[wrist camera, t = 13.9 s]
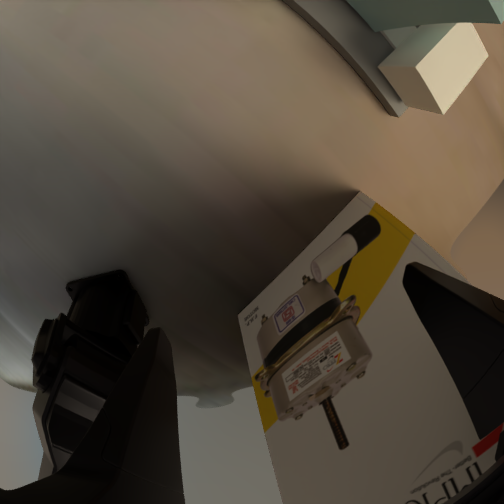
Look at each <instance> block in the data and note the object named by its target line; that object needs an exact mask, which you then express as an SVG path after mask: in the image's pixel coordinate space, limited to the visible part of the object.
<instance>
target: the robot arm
mask: <svg viewBox="0 0 504 504" xmlns="http://www.w3.org/2000/svg"><path fill="white" fill-rule="evenodd" d="M118 275H121V276H122V277H119V276H118ZM402 284H403V287H404V289H405V291H406V293H407V295H408V297H409V299H410V301H411V303H412V305H413V307H414V309H415V311H416V313H417V315H418V317H419V319H420V321H421V323H422V324H423V326H424V328H425V329H426V331H427V333H428V335H429V336H430V338H431V340H432V342H433V343H434V345H435V347H436V349H437V350H438V352H439V354H440V356H441V358H442V360H443V362H444V363H445V365H446V367H447V369H448V371H449V373H450V375H451V377H452V379H453V381H454V383H455V385H456V387H457V389H458V391H459V393H460V396H461V398H462V399H463V402H464V405H465V407H466V409H467V411H468V414H469V416H470V418H471V421H472V423H473V425H474V428H475V430H476V433H477V435H478V438H479V439H480V440H481V439H483V438H484V437H485V436H487V435H488V434H489V433H491V432H492V431H493V430H495V429H496V428H497V427H499V426H500V425H501V424H502V423H504V300H502V299H500V298H498V297H496V296H493V295H491V294H489V293H487V292H485V291H483V290H481V289H478V288H476V287H474V286H472V285H470V284H467V283H465V282H463V281H461V280H458V279H456V278H454V277H451V276H449V275H447V274H445V273H442V272H440V271H438V270H435V269H433V268H430V267H428V266H426V265H423V264H421V263H418V262H411V263H408V264H407V265H406V266H405V271H404V275H403V280H402ZM70 287H71V288H72V289H71V288H70ZM66 291H67V292H68V294H69V295H70V297H71V299H72V300H73V302H72V305H71V307H70V309H69V312H68V314H67V316H66V315H64V314H63V313H61V314H60V315H59V316H58V318H57V319H55V320H54V319H53V320H49V319H45V320H44V322H43V323H42V326H41V328H40V330H39V333H38V335H37V338H36V341H35V345H34V349H33V354H32V359H31V360H32V363H33V386H34V387H36V388H38V390H37V393H36V397H35V400H34V403H33V414H34V418H35V422H36V426H37V430H38V433H39V437H40V440H41V443H42V447H43V450H44V453H43V458H42V463H41V468H40V473H39V478H38V481H35V482H33V483H30V484H28V485H25V486H23V487H20V488H17V489H14V490H3V489H1V488H0V504H185V499H184V494H183V493H184V491H183V482H182V473H181V462H180V450H179V434H178V418H177V416H178V415H177V389H176V380H175V372H174V365H173V357H172V349H171V344H170V342H169V340H168V338H167V336H166V335H165V333H164V331H163V329H162V328H160V327H158V328H152V329H150V330H149V331H148V332H147V334H146V335H145V337H144V338H143V335H144V327H145V326H147V325H148V324H149V318H148V316H147V314H146V312H147V311H146V308H145V306H144V305H143V303H142V301H141V299H140V297H139V295H138V293H137V291H136V290H134V289H133V287H132V285H131V283H130V281H129V279H128V277H127V275H126V273H125V272H124V271H123V270H116V271H112V272H108V273H104V274H100V275H96V276H92V277H88V278H84V279H80V280H76V281H72V282H69V283H67V285H66ZM138 345H139V346H138ZM137 347H138V348H137ZM495 460H496V462H495V463H494V464H493V465H492V466H491V467H490V468H489V469H488V470H486V471H485V472H484V473H483V474H482V475H481V476H479V477H478V478H477V479H476V480H474V481H473V482H472V483H471V484H469V485H468V486H467V487H465V488H464V489H463V490H461V491H460V492H459V493H457V494H456V495H455V496H453V497H452V498H450V499H449V500H447V501H446V502H444V503H443V504H504V430H503V431H502V432H501V433H500V435H499V440H498V445H497V450H496V454H495Z"/></svg>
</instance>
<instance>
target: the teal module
mask: <svg viewBox="0 0 504 504" xmlns="http://www.w3.org/2000/svg"><path fill="white" fill-rule="evenodd" d="M346 1H347V2H348V3H349V4H350V5H351V6H352V7H353V8H354V9H355V10H356V11H357V12H358V13H359V15H360V16H361V17H362V18H363V19H364V20H365V21H366V22H367V23H368V25H369V26H370V27H371V28H372V29H373V30H374V32H379V31H384V30H390V29H396V28H402V27H410V26H418V25H428V24H441V23H494V24H501V23H502V22H503V21H504V0H346Z"/></svg>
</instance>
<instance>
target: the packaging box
mask: <svg viewBox="0 0 504 504" xmlns="http://www.w3.org/2000/svg"><path fill="white" fill-rule="evenodd" d="M411 262H418V263H421V264H423V265H426V266H428V267H430V268H433V269H435V270H438V271H440V272H442V273H445V274H447V275H449V276H451V277H454V278H456V279H458V280H461V281H463V282H465V283H467V284H470V283H469V282H468V281H467V280H466V279H465V278H464V277H463V276H462V275H461V274H460V273H459V272H458V271H457V270H456V269H455V268H454V267H453V266H452V265H451V264H450V263H449V262H448V261H446V260H445V259H444V258H443V257H442V256H441V255H440V254H439V253H438V252H436V251H435V250H434V249H433V248H432V247H431V246H430V245H428V244H427V243H426V242H425V241H424V240H423V239H422V238H420V237H419V236H418V235H417V234H416V233H414V232H413V231H412V230H411V229H409V228H408V227H407V226H406V225H405V224H403V223H402V222H401V221H400V220H398V219H397V218H396V217H395V216H393V215H392V214H391V213H389V212H388V211H387V210H385V209H384V208H383V207H382V206H380V205H379V204H378V203H376V202H375V201H373V200H372V199H371V198H369V197H368V196H367V195H365V194H364V193H362V192H359V193H358V194H357V195H356V196H355V197H354V198H353V199H352V200H351V201H350V202H349V203H348V204H347V206H346V207H345V208H344V209H343V210H342V211H341V212H340V213H339V214H338V215H337V216H336V217H335V218H334V219H333V220H332V221H331V222H330V223H329V224H328V225H327V227H326V228H325V229H324V230H323V231H322V232H321V233H320V234H319V235H318V236H317V237H316V238H315V239H314V240H313V241H312V242H311V243H310V244H309V245H308V246H307V247H306V248H305V249H304V250H303V251H302V252H301V253H300V254H299V255H298V256H297V257H296V258H295V259H294V260H293V261H292V262H291V263H290V264H289V265H288V266H287V267H286V268H285V269H284V270H283V271H282V272H281V273H280V274H279V275H278V276H277V277H276V278H275V279H274V280H273V281H272V282H271V283H270V284H269V285H268V286H267V287H266V288H265V289H264V290H263V291H262V292H261V293H260V294H259V295H258V296H257V297H256V298H255V299H254V300H253V301H252V302H251V303H250V304H249V305H248V306H247V307H246V308H244V309H243V310H242V311H241V312H240V313H239V314H238V320H239V324H240V329H241V334H242V338H243V343H244V347H245V352H246V356H247V361H248V365H249V370H250V374H251V378H252V383H253V387H254V391H255V396H256V400H257V404H258V408H259V412H260V416H261V421H262V424H263V429H264V433H265V437H266V441H267V445H268V449H269V453H270V456H271V460H272V464H273V468H274V472H275V475H276V479H277V483H278V487H279V491H280V494H281V498H282V502H283V504H443V503H444V502H446V501H447V500H449V499H450V498H452V497H453V496H455V495H456V494H457V493H459V492H460V491H461V490H463V489H464V488H465V487H467V486H468V485H469V484H471V483H472V482H473V481H474V480H476V479H477V478H478V477H479V476H481V475H482V474H483V473H484V472H485V471H486V470H488V469H489V468H490V467H491V466H492V465H493V464H494V463H495V462H496V460H495V454H496V450H497V445H498V440H499V435H500V433H501V432H502V431H503V430H504V423H502V424H501V425H500V426H499V427H497V428H496V429H495V430H493V431H492V432H491V433H489V434H488V435H487V436H485V437H484V438H483V439H481V440H480V439H479V438H478V435H477V433H476V430H475V428H474V425H473V423H472V421H471V418H470V416H469V414H468V411H467V409H466V407H465V405H464V402H463V399H462V398H461V396H460V393H459V391H458V389H457V387H456V385H455V383H454V381H453V379H452V377H451V375H450V373H449V371H448V369H447V367H446V365H445V363H444V362H443V360H442V358H441V356H440V354H439V352H438V350H437V349H436V347H435V345H434V343H433V342H432V340H431V338H430V336H429V335H428V333H427V331H426V329H425V328H424V326H423V324H422V323H421V321H420V319H419V317H418V315H417V313H416V311H415V309H414V307H413V305H412V303H411V301H410V299H409V297H408V295H407V293H406V291H405V289H404V287H403V284H402V280H403V275H404V271H405V266H406V265H407V264H408V263H411ZM470 285H471V284H470Z"/></svg>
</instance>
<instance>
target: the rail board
mask: <svg viewBox="0 0 504 504" xmlns="http://www.w3.org/2000/svg"><path fill="white" fill-rule="evenodd" d="M283 1H284V2H285V3H286V4H288V5H289V6H290V7H291V8H292V9H294V10H295V11H296V12H297V13H298V14H299V15H301V16H302V17H303V18H304V19H305V20H306V21H307V22H308V23H310V24H311V25H312V26H313V27H314V28H315V29H316V30H317V31H318V32H319V33H320V34H321V35H322V36H323V37H324V38H325V39H326V40H327V41H328V42H329V43H330V44H331V45H332V46H333V47H334V48H335V49H336V50H337V51H338V52H339V53H340V54H341V55H342V56H343V57H344V58H345V60H346V61H347V62H348V63H349V64H350V65H351V66H352V67H353V69H354V70H355V71H356V72H357V73H358V74H359V76H360V77H361V78H362V79H363V80H364V82H365V83H366V84H367V85H368V86H369V88H370V89H371V90H372V91H373V93H374V94H375V95H376V97H377V98H378V99H379V101H380V102H381V103H382V105H383V106H384V107H385V109H386V110H387V111H388V113H389V114H390V116H395V117H400V116H401V115H402V114H403V113H404V112H405V111H406V109H407V108H408V107H412V108H417V109H421V110H426V111H430V112H434V113H438V114H442V115H444V114H445V112H446V111H447V110H448V109H449V107H450V106H451V105H452V103H453V102H454V101H455V100H456V98H457V97H458V96H459V95H460V93H461V92H462V91H463V89H464V88H465V87H466V85H467V84H468V83H469V81H470V80H471V79H472V77H473V76H474V75H475V73H476V72H477V71H478V69H479V68H480V67H481V65H482V64H483V63H484V61H485V60H486V58H487V57H488V54H487V52H486V49H485V47H484V45H483V43H482V41H481V39H480V37H479V35H478V34H477V32H476V30H475V28H474V26H473V24H472V23H441V24H428V25H418V26H410V27H402V28H396V29H390V30H384V31H379V32H374V30H373V29H372V28H371V27H370V26H369V25H368V23H367V22H366V21H365V20H364V19H363V18H362V17H361V16H360V15H359V13H358V12H357V11H356V10H355V9H354V8H353V7H352V6H351V5H350V4H349V3H348V2H347V1H346V0H283Z"/></svg>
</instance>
